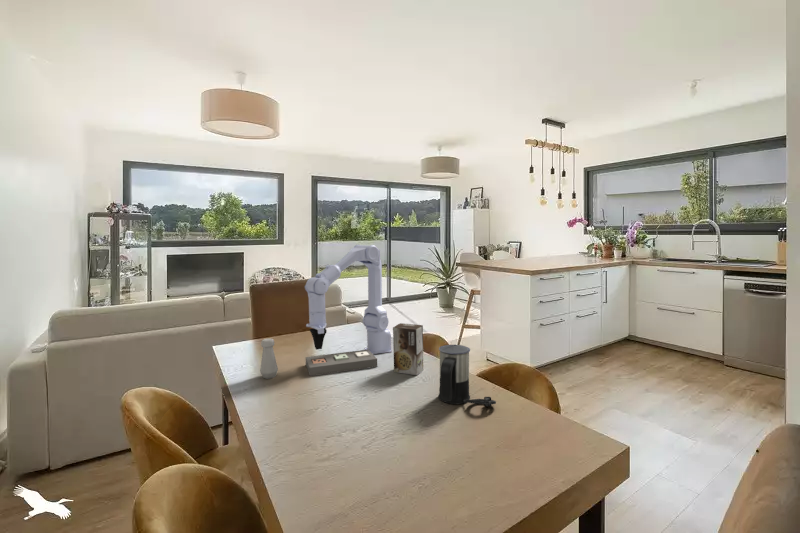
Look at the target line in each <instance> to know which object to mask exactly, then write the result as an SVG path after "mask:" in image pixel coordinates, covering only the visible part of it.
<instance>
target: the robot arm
mask: <svg viewBox="0 0 800 533" xmlns="http://www.w3.org/2000/svg"><path fill="white" fill-rule="evenodd" d="M355 262H359V263H362V264H363V265H364V266H365V267H366V268H367V280H368V281H367V284H368V285H367V288H368V290H367V294H368V295H367V297H368V300H367V302H368V304H367V307H365V309H364V314H363V317H362V324H363V326H364V327H365V329H366V341H367V342H366V346H367V347H365V348H364V349H363V350H369V351H370V352H371V353H372V354H373V355H375V354H384V353H391V352H393V350H392V334H391V330H390V329H389V328H388V325H389V323H390V322H389V318H388V312H387V310H386V309H385V308H384V307H383V298H382V297H383V295H382V294H383V283H382V282H383V278H382V277H383V274H382V273H383V269H382V268H383V266H382V260H381V250H380V249H379V248H378V247H377V246H376V245H374V244H368V245H367V244H366V245H365V244H356V245H354V246H353V247H350V249H349V251H348V252H347V253H346V254H345V255H343V257H342V258H341V259H339V261H338V262H336V263H335V264H327V265H325V266H324V267H325V268H324V269H323V270H321V271H320V272H317V273H316V274H315V276H313V277H309V278H308V279H307V281H306V283H305V285H304V290H305V291H306V292H307V297H308V316H309V317H308V318H309V319H308V321H309V323H306V325H305V327H306V328H309V330H308V331H309V333H310V334H311V336H312V340H313V344H314V348H315V350H322V349H323V344H324V339H325V336H326V334H327V328H326V327H327V324H328V323H327V314H326V313H327V312H326V311H327V309H326V293H327V292H328V291H329V288H330V286H331V285H332V284H333V283H334V282H335V281H337V280H338V279H340V277H341V275H342V274H341V273H342V272H343V271H344V270H346V269H347V268H349V267H350V266H351V265H353V264H354V263H355Z"/></svg>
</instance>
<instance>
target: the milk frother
mask: <svg viewBox="0 0 800 533" xmlns="http://www.w3.org/2000/svg"><path fill="white" fill-rule="evenodd" d="M438 350H439V388H438V389H439V390H438V391H439V393H438V399H439V400H440V401H442V402H444V403H447V404H451V405H461V404H465V403H467V404H468V403H469V404H478V405H484V406H485V407H492V405H496V404H497V401H496V400H494V399H492V397H491V396H484V398H475V399H474V398H473V399H471V395H470V352H471V348H470V347H467V346H465V345H461V344H446V345H442V346H439V347H438Z"/></svg>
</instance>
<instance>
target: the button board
mask: <svg viewBox="0 0 800 533" xmlns="http://www.w3.org/2000/svg"><path fill="white" fill-rule="evenodd" d="M364 351H367V352H368V354H369V355H370V357H362V358H357V357H356V356H355V353H356V352H364ZM340 354H346V355H347V356H348V359H346V360H339V361H335V359H334V355H340ZM323 358H324V359H325V361H326V362H323V363H315V364H313V363H312V360H315V359H323ZM305 367H306V369H307V372H308V375H309V377H315V376H320V375H328V374H329V375H330V374H335V373H342V372H343V373H344V372H351V371H357V370H364V369H365V370H366V369H373V368H377V367H378V357H377V356H375V354H372V353H371V352H370V351H369V350H365V349H362V350H361V349H360V350H352V351H343V352H336V353H335V352H334V353H328V354H321V355H311V356H305ZM372 367H373V368H372Z"/></svg>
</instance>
